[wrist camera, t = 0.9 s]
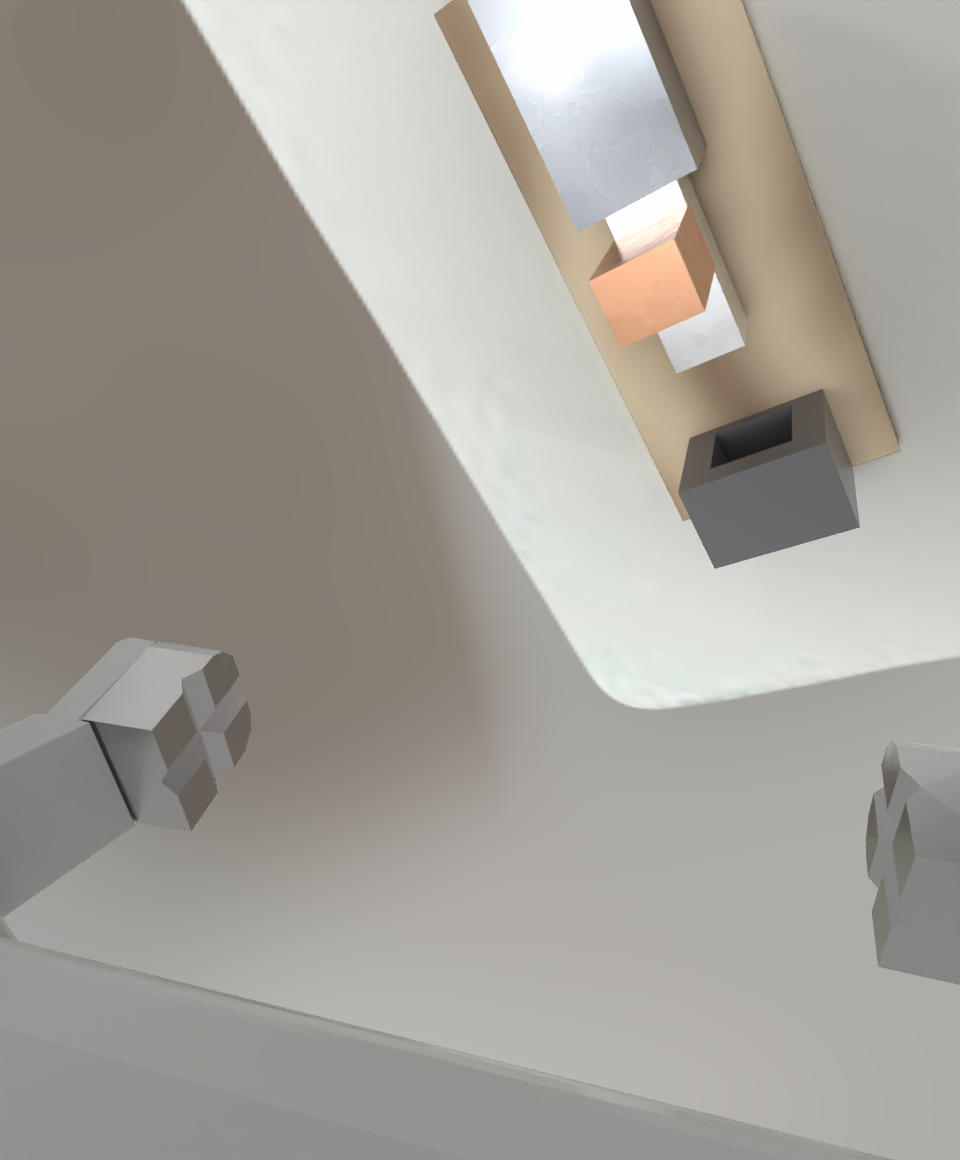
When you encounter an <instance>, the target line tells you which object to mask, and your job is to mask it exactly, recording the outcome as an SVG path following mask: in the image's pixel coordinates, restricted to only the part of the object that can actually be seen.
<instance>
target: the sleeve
mask: <svg viewBox="0 0 960 1160" xmlns="http://www.w3.org/2000/svg"><path fill="white" fill-rule="evenodd" d="M467 1H468V3H469V5H470V7H471V9H472V11H473V14H474V16H475V18H476V20H477V22H478V24H479V26H480V28H481V30H482V32H483V35H484V37H485V39H486V41H487V43H488V45H489V47H490V49H491V51H492V54H493V56H494V58H495V60H496V62H497V64H498V66H499V68H500V70H501V73H502V75H503V77H504V79H505V81H506V83H507V85H508V87H509V89H510V91H511V94H512V96H513V98H514V100H515V102H516V104H517V106H518V108H519V110H520V113H521V115H522V117H523V119H524V121H525V123H526V125H527V127H528V129H529V131H530V134H531V136H532V138H533V140H534V142H535V144H536V146H537V148H538V150H539V153H540V155H541V157H542V159H543V161H544V163H545V165H546V167H547V169H548V171H549V174H550V176H551V178H552V180H553V182H554V184H555V186H556V188H557V190H558V193H559V195H560V197H561V199H562V201H563V203H564V205H565V207H566V209H567V211H568V214H569V216H570V218H571V220H572V222H573V224H574V226H575V228H576V230H577V233H578V232H580V231H582V230H584V229H586V228H588V227H590V226H591V225H593V224H595V223H597V222H599V221H601V220H603V219H605V218H607V217H608V216H610V215H612V214H614V213H616V212H618V211H620V210H622V209H623V208H625V207H627V206H629V205H631V204H633V203H635V202H637V201H638V200H640V199H642V198H644V197H646V196H648V195H650V194H652V193H653V192H655V191H657V190H659V189H661V188H663V187H665V186H667V185H668V184H670V183H672V182H674V181H676V180H678V179H680V178H682V177H683V176H685V175H687V174H689V173H691V172H693V171H695V170H697V168H698V166H699V164H700V162H701V159H702V157H703V155H704V152H705V150H706V148H707V146H708V145H707V143H706V140H705V138H704V135H703V133H702V130H701V128H700V125H699V123H698V120H697V117H696V115H695V112H694V110H693V107H692V105H691V102H690V100H689V97H688V95H687V92H686V90H685V87H684V85H683V82H682V79H681V77H680V74H679V72H678V69H677V67H676V64H675V62H674V59H673V57H672V54H671V52H670V49H669V47H668V44H667V41H666V39H665V36H664V34H663V31H662V29H661V26H660V24H659V21H658V19H657V16H656V14H655V11H654V8H653V6H652V3H651V1H650V0H467Z"/></svg>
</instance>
